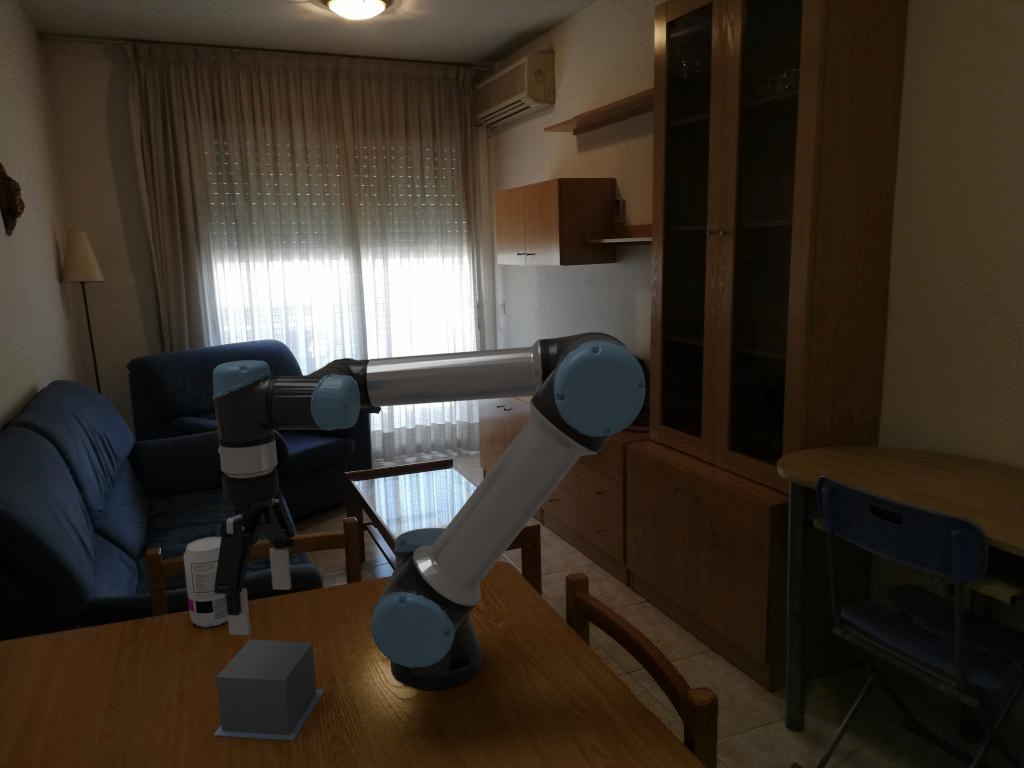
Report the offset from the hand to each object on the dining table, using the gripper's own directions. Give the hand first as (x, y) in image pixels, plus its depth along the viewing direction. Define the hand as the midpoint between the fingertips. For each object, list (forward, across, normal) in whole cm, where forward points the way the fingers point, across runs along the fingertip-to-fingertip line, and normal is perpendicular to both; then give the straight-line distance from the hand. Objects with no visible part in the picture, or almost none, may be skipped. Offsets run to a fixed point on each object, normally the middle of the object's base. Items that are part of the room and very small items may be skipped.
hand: (262, 609), depth 108 cm
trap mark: (+17, 0, 0) cm, 17 cm away
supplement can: (+17, -27, -24) cm, 40 cm away
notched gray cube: (+17, 0, 0) cm, 17 cm away
